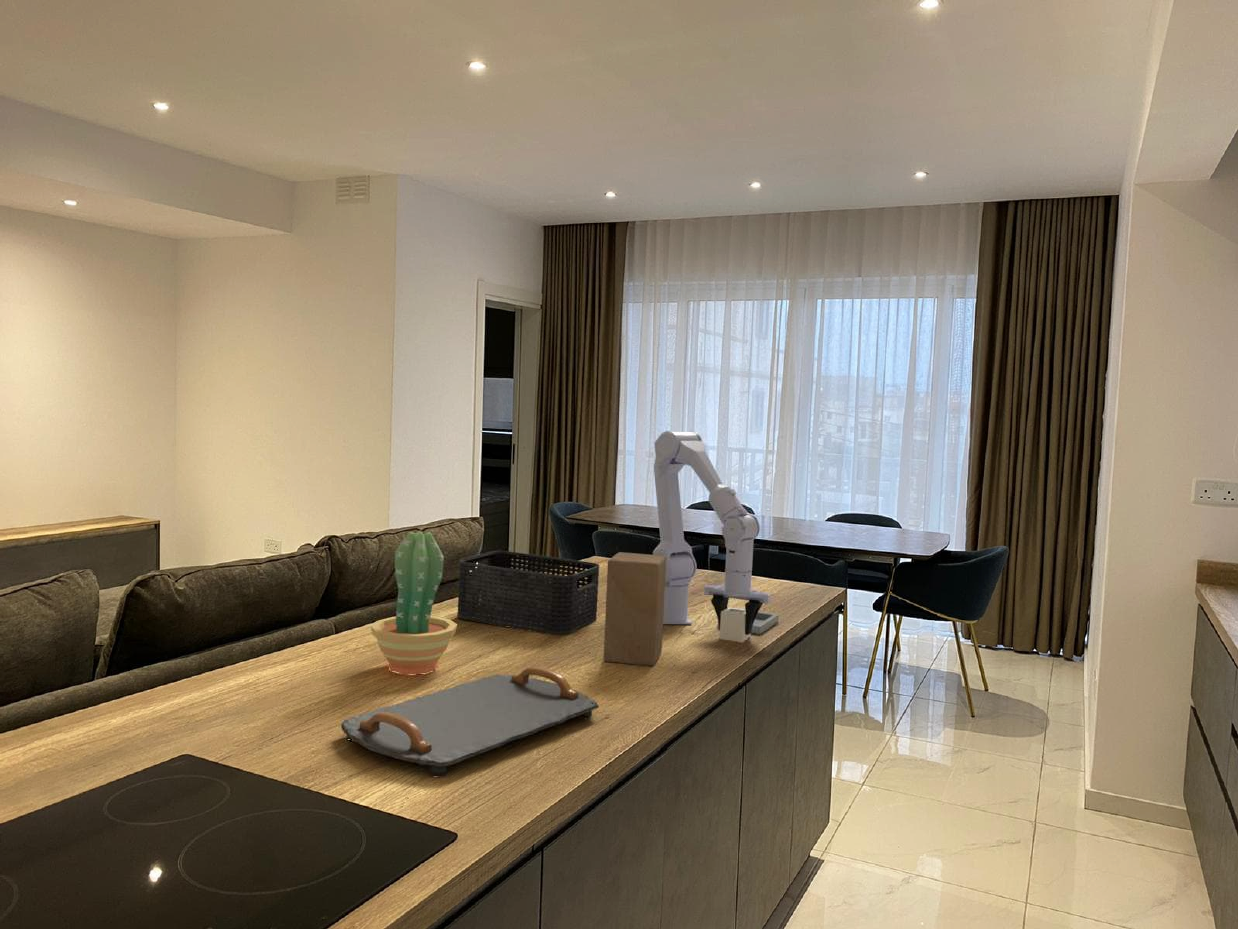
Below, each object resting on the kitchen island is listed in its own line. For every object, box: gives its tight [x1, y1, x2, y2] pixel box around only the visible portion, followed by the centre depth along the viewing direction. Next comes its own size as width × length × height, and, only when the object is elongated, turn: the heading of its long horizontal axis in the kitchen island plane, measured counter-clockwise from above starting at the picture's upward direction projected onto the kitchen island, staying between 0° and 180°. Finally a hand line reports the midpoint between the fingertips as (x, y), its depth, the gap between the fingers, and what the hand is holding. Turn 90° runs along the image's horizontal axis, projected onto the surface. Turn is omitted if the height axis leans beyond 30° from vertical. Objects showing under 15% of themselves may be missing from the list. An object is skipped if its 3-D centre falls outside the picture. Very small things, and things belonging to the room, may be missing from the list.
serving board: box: [340, 666, 600, 777], centre depth 138 cm, size 39×23×6 cm, turn 143°
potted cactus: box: [370, 530, 458, 674], centre depth 165 cm, size 15×15×25 cm
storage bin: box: [457, 550, 600, 635], centre depth 207 cm, size 29×19×13 cm
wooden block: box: [603, 551, 666, 667], centre depth 179 cm, size 10×10×20 cm
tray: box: [717, 611, 779, 635], centre depth 210 cm, size 14×10×2 cm
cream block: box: [719, 606, 751, 643], centre depth 198 cm, size 5×5×6 cm
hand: (735, 631), depth 198 cm, fingers closed on cream block, 5 cm apart
